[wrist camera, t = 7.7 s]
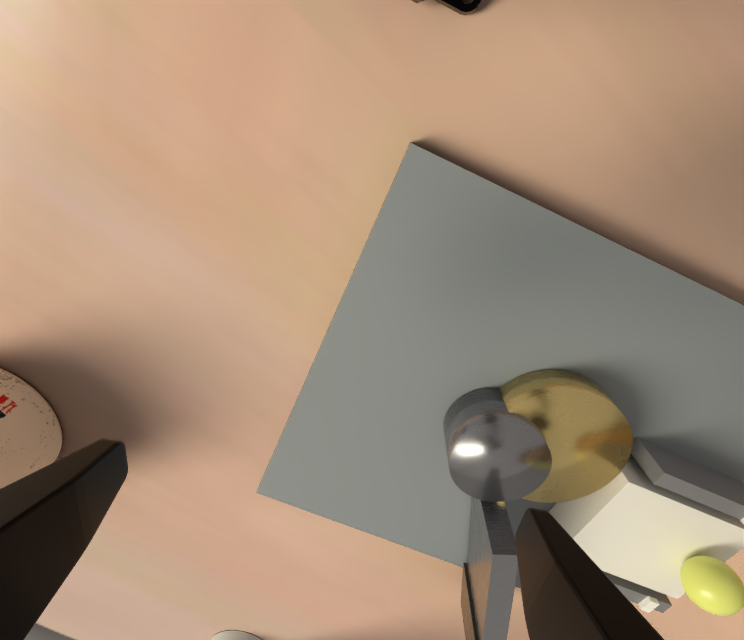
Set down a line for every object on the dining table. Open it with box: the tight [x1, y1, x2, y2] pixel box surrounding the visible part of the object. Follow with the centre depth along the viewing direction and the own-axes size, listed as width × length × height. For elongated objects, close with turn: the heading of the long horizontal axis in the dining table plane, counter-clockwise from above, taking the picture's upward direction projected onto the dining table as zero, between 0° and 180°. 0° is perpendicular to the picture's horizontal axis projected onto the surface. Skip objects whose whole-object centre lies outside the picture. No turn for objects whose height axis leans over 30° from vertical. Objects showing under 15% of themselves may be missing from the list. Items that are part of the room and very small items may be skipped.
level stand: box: [256, 143, 744, 613], centre depth 22 cm, size 22×26×4 cm
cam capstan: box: [443, 369, 633, 640], centre depth 22 cm, size 9×18×5 cm, turn 3°
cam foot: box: [549, 458, 744, 616], centre depth 22 cm, size 6×8×5 cm
